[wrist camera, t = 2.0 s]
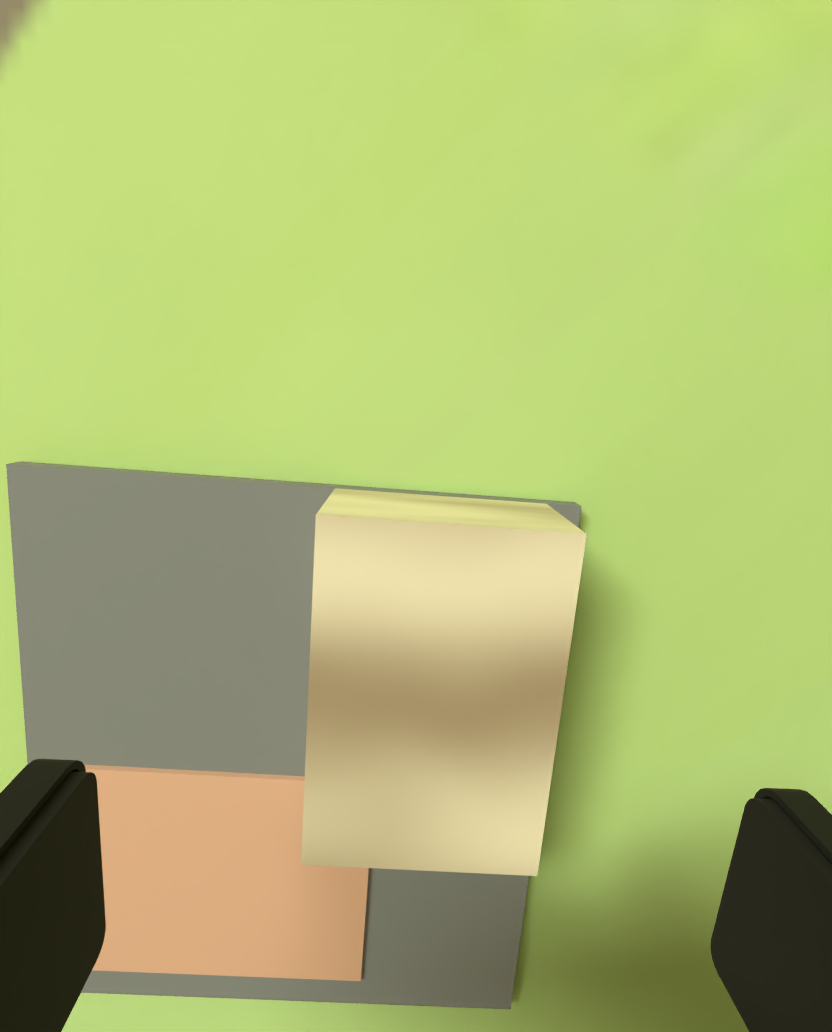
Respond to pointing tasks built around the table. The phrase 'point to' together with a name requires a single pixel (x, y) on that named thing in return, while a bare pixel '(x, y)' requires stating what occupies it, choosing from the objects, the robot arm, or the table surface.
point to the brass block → (435, 680)
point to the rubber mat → (221, 748)
